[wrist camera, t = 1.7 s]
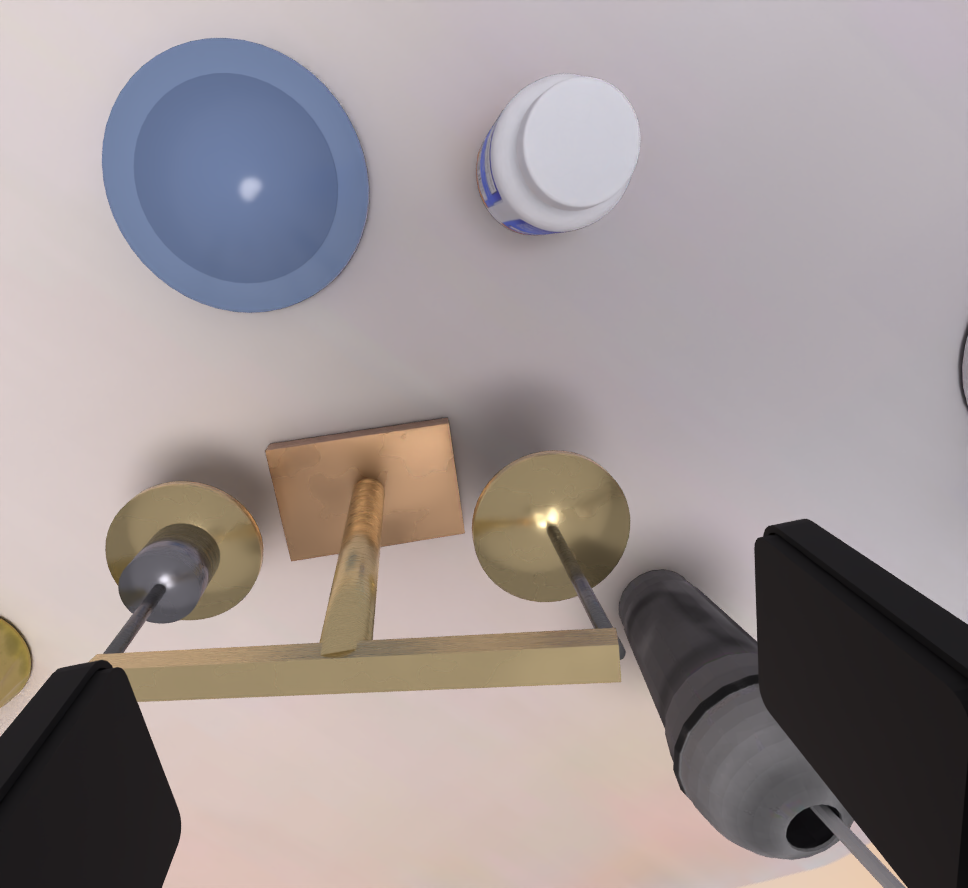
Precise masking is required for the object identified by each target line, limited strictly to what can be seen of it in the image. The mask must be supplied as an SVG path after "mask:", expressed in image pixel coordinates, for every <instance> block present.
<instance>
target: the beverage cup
mask: <svg viewBox="0 0 968 888" xmlns="http://www.w3.org/2000/svg"><path fill="white" fill-rule="evenodd" d="M619 615H620V618H621V620H622V623H623V625H624V630H625V633H626V635H627V638H628V641H629V643H630V646H631V648H632V650H633V653H634V655H635V658H636V660H637V663H638V665H639V667H640V670H641V672H642V675H643V677H644V679H645V682H646V684H647V687H648V689H649V691H650V694H651V696H652V699H653V701H654V704H655V706H656V708H657V711H658V713H659V716H660V718H661V720H662V723H663V725H664V728H665V735H666V739H667V743H668V747H669V750H670V754H671V757H672V760H673V762H674V765H673V770H674V773H675V776H676V778H677V781H678V784H679V786H680V789H681V790H682V791H683V793H684V794H685V795H686V796H687V797H688V798H689V799H690V800H691V801H692V802H693V804H694V806H695V807H696V808H697V809H698V810H699V812H700V813H701V814H702V815H703V816H704V817H705V818H706V819H707V820H708V821H709V822H710V824H711V825H712V826H713V827H714V828H715V829H716V830H717V831H718V832H720V833H721V834H722V835H723V836H724V837H726V838H727V839H728V840H730V841H732V842H733V843H735V844H737V845H739V846H741V847H743V848H745V849H747V850H749V851H752V852H754V853H756V854H759V855H762V856H765V857H770V858H779V859H791V860H794V859H800V858H807V857H810V856H813V855H815V854H818V853H820V852H823V851H825V850H827V849H828V848H830V847H831V846H832V845H834V844H835V843H837V842H838V841H839V840H840V841H841V842H842V843H843V844H844V845H845V846H846V847H847V848H848V850H849V851H850V852H851V853H852V854H853V855H854V856H855V857H856V858H857V859H858V860H859V861H860V863H861V864H862V865H863V866H864V867H865V868H866V869H867V870H868V871H869V872H870V873H871V874H872V876H873V877H874V878H875V879H876V880H877V881H878V882H879V883H880V884H881V885H882V886H883V887H884V888H905V887H904V886H903V885H902V884H901V883H900V882H899V880H898V879H897V878H896V877H895V876H894V875H893V874H892V873H891V872H889V870H888V869H887V868H886V867H885V866H884V865H883V864H882V863H881V862H880V860H878V858H877V857H876V856H875V855H874V854H873V853H872V852H871V851H870V850H869V849H868V848H867V847H866V846H865V845H864V844H863V843H862V842H861V840H860V839H859V838H858V837H857V836H856V835H855V834H854V833H853V832H852V831H851V830H850V827H851V825H852V823H853V821H854V819H853V818H852V817H851V815H850V814H849V813H848V812H847V810H846V809H845V808H844V807H843V805H842V804H841V803H840V802H839V800H838V799H837V798H836V797H835V795H834V794H833V793H832V791H831V790H830V789H829V788H828V786H827V785H826V784H825V783H824V781H823V780H822V779H821V778H820V776H819V775H818V774H817V772H816V771H815V770H814V769H813V767H812V766H811V765H810V764H809V762H808V761H807V760H806V759H805V757H804V756H803V755H802V754H801V752H800V751H799V750H798V748H797V747H796V746H795V745H794V743H793V742H792V741H791V740H790V738H789V737H788V736H787V735H786V733H785V732H784V731H783V730H782V728H781V727H780V726H779V724H778V723H777V722H776V721H775V719H774V718H773V717H772V716H771V714H770V713H769V712H768V710H767V709H766V707H765V705H764V703H763V700H762V697H761V694H760V690H759V676H758V645H757V641H756V640H754V639H753V638H752V637H751V636H750V635H749V634H748V633H747V632H746V631H744V630H743V629H742V628H741V627H740V626H739V625H738V624H737V623H736V622H734V621H733V620H732V619H731V618H730V617H729V616H728V615H727V614H726V613H724V612H723V611H722V610H721V609H720V608H719V607H718V606H717V605H716V604H714V603H713V602H712V601H711V600H710V599H709V598H708V597H707V596H706V595H704V594H703V593H702V592H701V591H700V590H699V589H698V588H696V587H695V586H693V585H691V584H690V583H689V582H687V581H686V580H685V578H684V577H682V576H680V575H679V574H677V573H675V572H673V571H667V570H655V571H650V572H647V573H645V574H642V575H640V576H638V577H637V578H636V579H635V580H633V581H632V582H631V583H630V584H629V585H628V586H627V588H626V589H625V591H624V592H623V594H622V597H621V600H620V602H619Z"/></svg>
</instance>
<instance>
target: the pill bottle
mask: <svg viewBox="0 0 968 888" xmlns="http://www.w3.org/2000/svg"><path fill="white" fill-rule="evenodd" d="M639 151H640V128H639V123H638V119H637V117H636V114H635V111H634V109H633V107H632V105H631V104H630V102H629V100H628V99H627V98H626V97H625V95H624V94H623V93H622V92H621V91H620V90H618V89H617V88H616V87H615V86H613V85H612V84H610V83H608V82H606V81H604V80H601V79H598V78H594V77H586V76H582V75H577V74H555V75H551V76H547V77H544V78H541V79H539V80H537V81H535V82H533V83H531V84H529V85H528V86H526V87H525V88H523V89H522V90H521V91H520V92H519V93H517V94H516V95H515V96H514V98H513V99H512V100H511V101H510V102H509V103H508V104H507V106H506V107H505V108H504V110H503V111H502V113H501V114H500V116H499V117H498V119H497V120H496V122H495V123H494V125H493V126H492V128H491V130H490V131H489V133H488V134H487V136H486V138H485V140H484V142H483V144H482V146H481V148H480V151H479V153H478V158H477V167H476V177H477V184H478V189H479V192H480V196H481V198H482V200H483V202H484V204H485V206H486V208H487V209H488V211H489V212H490V214H491V215H492V216H493V217H494V218H495V219H496V220H497V221H498V222H499V223H500V224H502V225H503V226H505V227H506V228H508V229H510V230H512V231H514V232H517V233H520V234H525V235H544V234H552V233H561V232H568V231H573V230H577V229H580V228H583V227H586V226H588V225H590V224H593V223H594V222H596V221H598V220H600V219H601V218H602V217H604V216H605V215H606V214H607V213H609V212H610V211H611V210H612V209H613V207H614V206H615V205H616V204H617V203H618V202H619V200H620V199H621V197H622V196H623V194H624V192H625V190H626V188H627V186H628V184H629V182H630V179H631V176H632V173H633V171H634V169H635V166H636V163H637V160H638V157H639Z"/></svg>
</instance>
